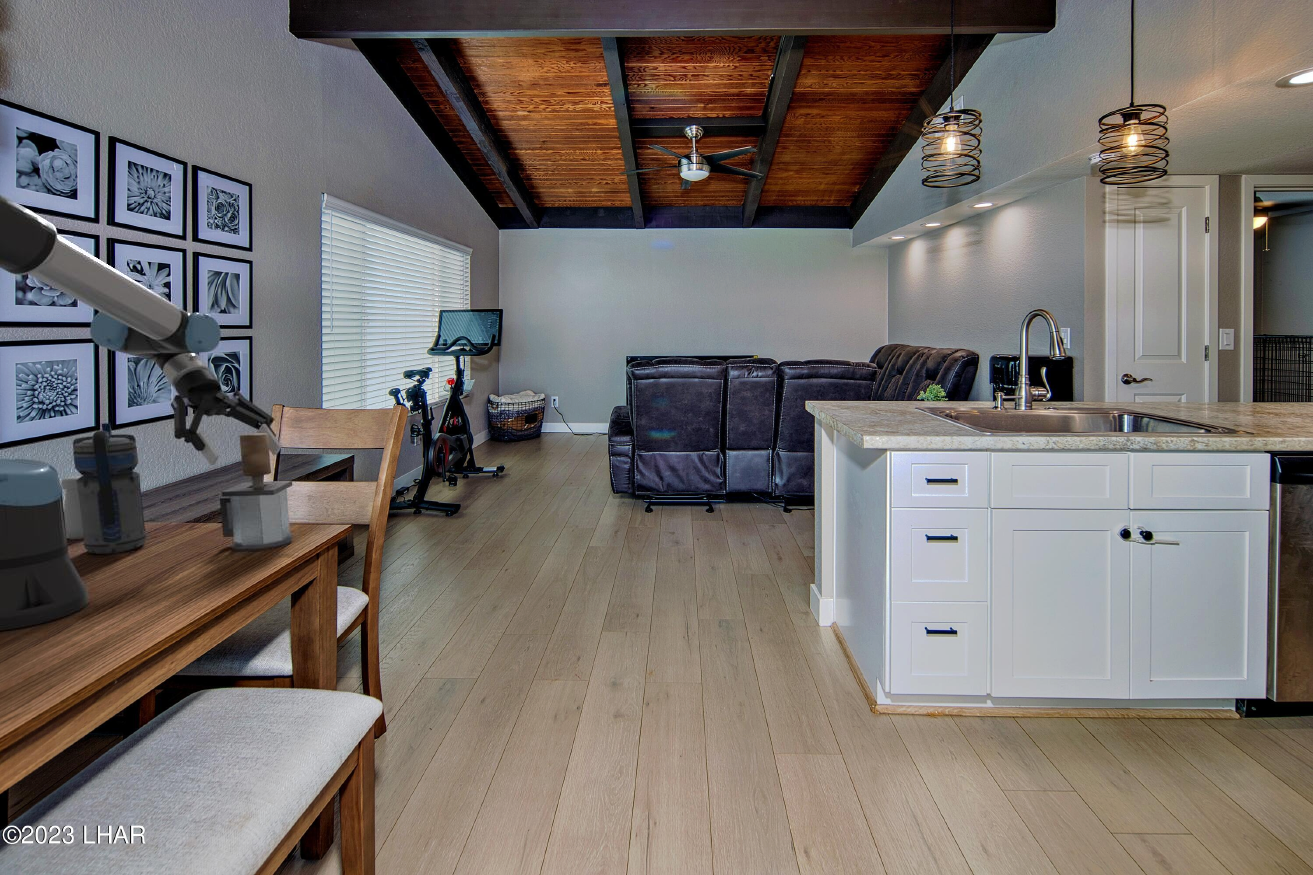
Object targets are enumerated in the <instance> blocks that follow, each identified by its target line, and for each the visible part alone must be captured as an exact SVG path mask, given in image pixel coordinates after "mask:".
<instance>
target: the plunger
mask: <svg viewBox="0 0 1313 875" xmlns="http://www.w3.org/2000/svg"><path fill="white" fill-rule="evenodd" d="M239 445H240V455H241V456H240V458H241V467H242V468H241V469H242V476H244V477H251V482H252V486H253V488H260V487H264V482H265V481H264V476H266V475H269V474H272V469H271V468H272V467H271V456H270V455H271V454H270V450H269V442H268V433H257V432H254V433H253V432H252V433H244V434H240V435H239Z"/></svg>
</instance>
